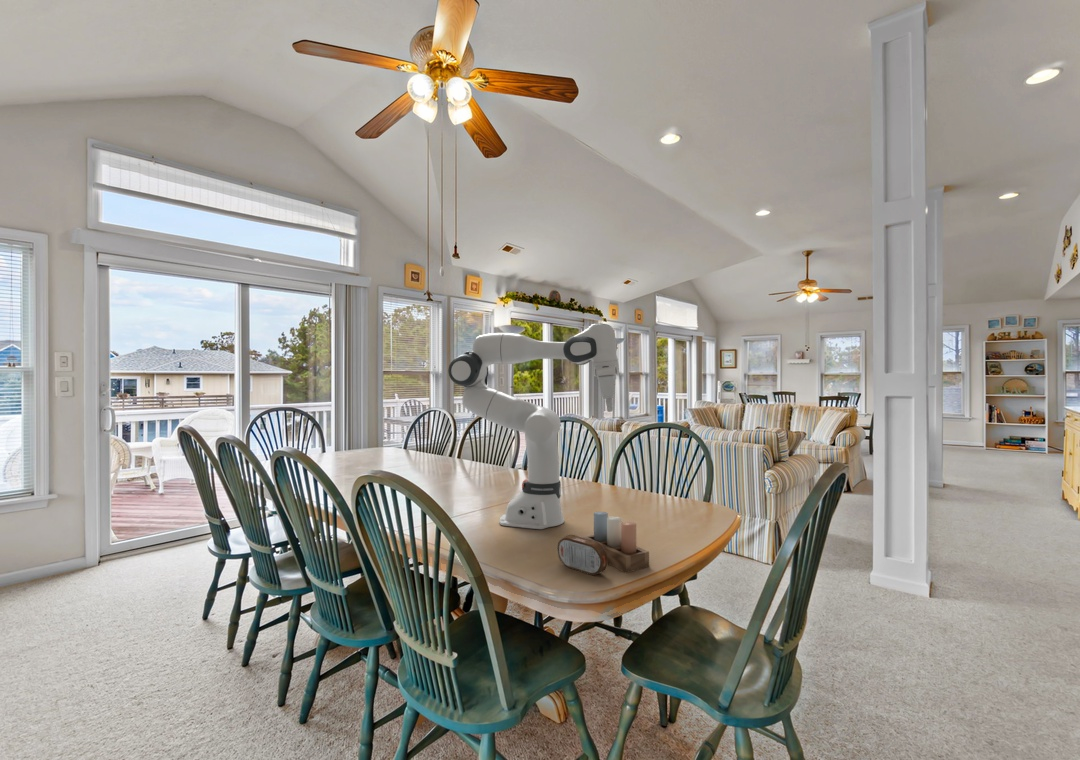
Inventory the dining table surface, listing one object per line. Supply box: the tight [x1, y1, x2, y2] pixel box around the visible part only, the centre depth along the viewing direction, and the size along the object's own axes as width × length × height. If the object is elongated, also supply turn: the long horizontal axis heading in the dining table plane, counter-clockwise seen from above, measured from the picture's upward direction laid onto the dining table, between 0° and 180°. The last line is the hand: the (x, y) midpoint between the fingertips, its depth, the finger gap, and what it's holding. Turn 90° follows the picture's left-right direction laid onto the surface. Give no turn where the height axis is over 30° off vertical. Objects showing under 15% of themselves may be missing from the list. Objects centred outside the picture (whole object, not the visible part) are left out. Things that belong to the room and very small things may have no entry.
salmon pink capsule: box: [621, 521, 637, 555], centre depth 136 cm, size 4×4×8 cm
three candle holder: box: [581, 534, 650, 574], centre depth 141 cm, size 19×8×4 cm, turn 31°
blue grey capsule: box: [593, 511, 609, 542], centre depth 146 cm, size 4×4×8 cm
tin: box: [557, 534, 609, 576], centre depth 133 cm, size 15×3×8 cm, turn 48°
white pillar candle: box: [607, 515, 623, 548], centre depth 141 cm, size 4×4×8 cm
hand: (610, 410), depth 173 cm, fingers open, 8 cm apart
